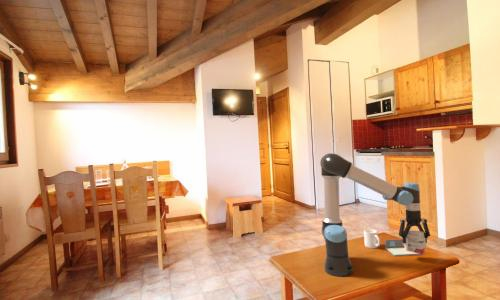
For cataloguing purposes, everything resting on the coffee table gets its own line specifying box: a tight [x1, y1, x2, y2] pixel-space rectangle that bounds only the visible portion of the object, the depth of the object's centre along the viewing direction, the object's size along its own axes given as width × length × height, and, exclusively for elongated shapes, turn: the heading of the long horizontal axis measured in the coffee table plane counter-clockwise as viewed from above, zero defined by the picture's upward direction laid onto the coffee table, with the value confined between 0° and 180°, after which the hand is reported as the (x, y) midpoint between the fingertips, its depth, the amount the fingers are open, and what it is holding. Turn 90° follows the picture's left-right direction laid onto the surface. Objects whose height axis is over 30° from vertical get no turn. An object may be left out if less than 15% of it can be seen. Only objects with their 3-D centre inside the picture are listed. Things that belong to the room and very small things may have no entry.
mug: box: [363, 228, 381, 249], centre depth 174 cm, size 12×8×10 cm
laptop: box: [384, 238, 423, 257], centre depth 163 cm, size 16×12×6 cm
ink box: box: [406, 229, 426, 255], centre depth 151 cm, size 8×5×12 cm, turn 39°
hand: (415, 248), depth 151 cm, fingers closed on ink box, 9 cm apart
